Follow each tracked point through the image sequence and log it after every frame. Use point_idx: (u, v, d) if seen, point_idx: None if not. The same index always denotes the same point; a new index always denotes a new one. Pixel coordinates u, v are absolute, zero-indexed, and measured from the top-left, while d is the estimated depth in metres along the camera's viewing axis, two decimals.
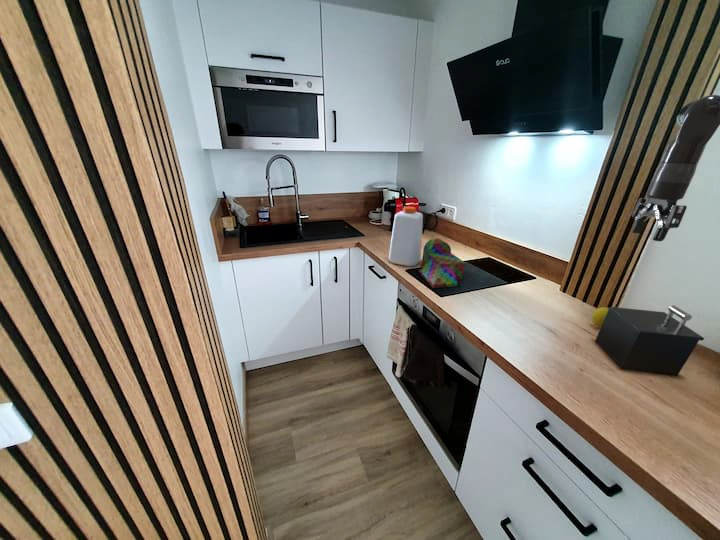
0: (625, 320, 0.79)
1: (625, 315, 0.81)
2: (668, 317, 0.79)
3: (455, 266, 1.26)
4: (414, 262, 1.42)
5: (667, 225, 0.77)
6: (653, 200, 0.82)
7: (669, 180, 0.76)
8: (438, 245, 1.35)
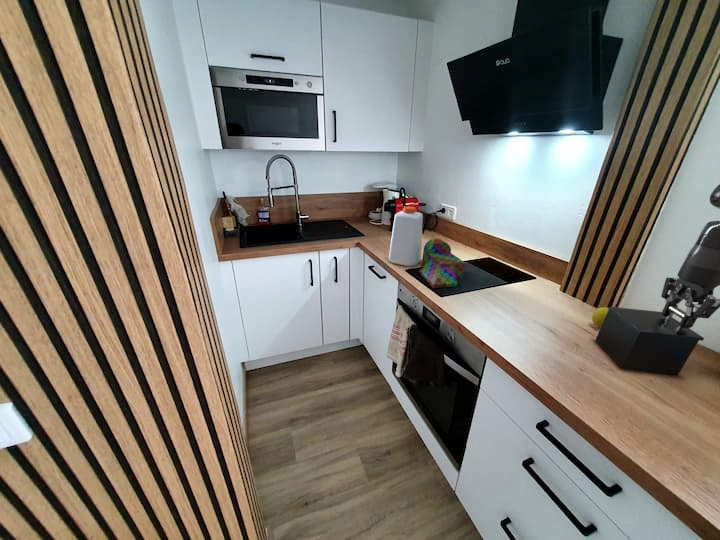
0: (625, 320, 0.79)
1: (625, 315, 0.81)
2: (668, 317, 0.79)
3: (455, 266, 1.26)
4: (414, 262, 1.42)
5: (696, 315, 0.71)
6: (685, 281, 0.74)
7: (706, 266, 0.68)
8: (438, 246, 1.35)
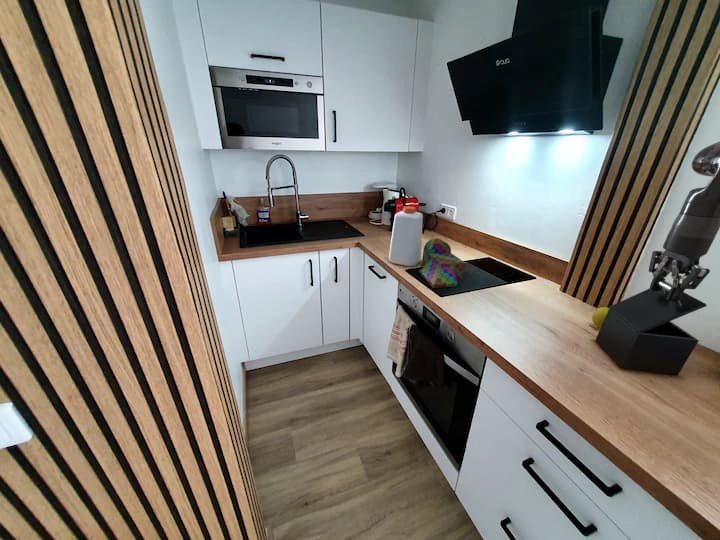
0: (625, 320, 0.79)
1: (623, 313, 0.80)
2: (665, 291, 0.77)
3: (455, 266, 1.26)
4: (414, 262, 1.42)
5: (683, 286, 0.69)
6: (671, 253, 0.72)
7: (690, 235, 0.66)
8: (438, 245, 1.35)
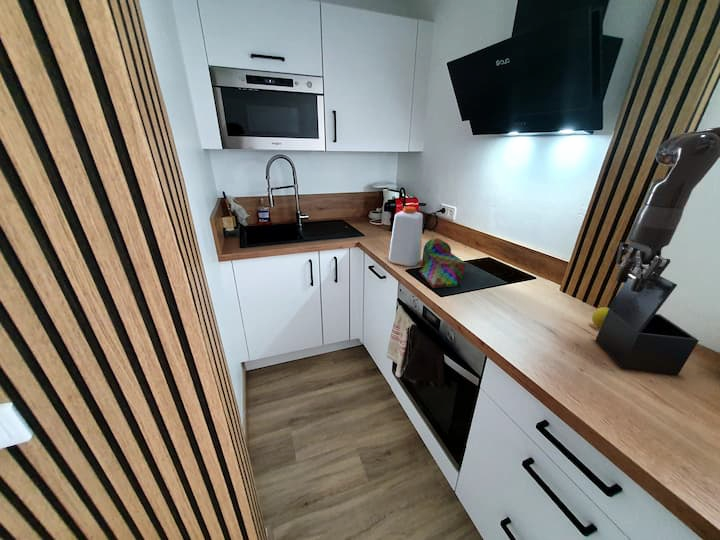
0: (625, 320, 0.79)
1: (620, 312, 0.80)
2: None
3: (455, 266, 1.26)
4: (414, 262, 1.42)
5: (645, 277, 0.69)
6: (636, 244, 0.73)
7: (652, 225, 0.67)
8: (438, 245, 1.35)
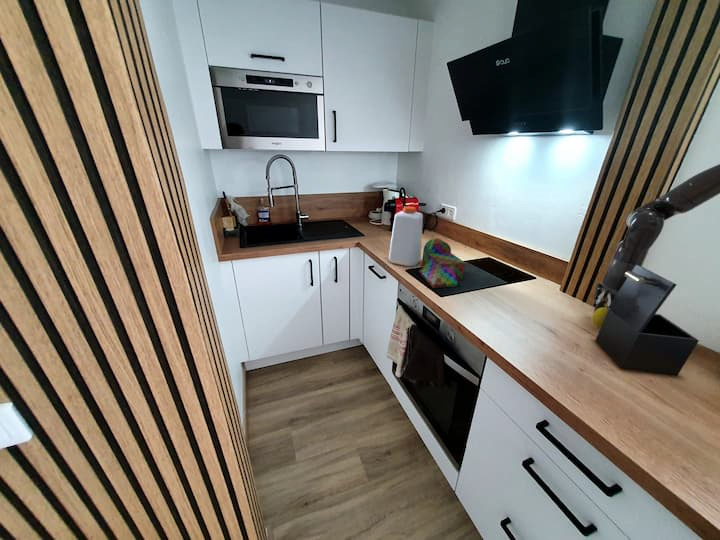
0: (625, 320, 0.79)
1: (620, 312, 0.80)
2: None
3: (455, 266, 1.26)
4: (414, 262, 1.42)
5: None
6: (608, 287, 0.93)
7: (619, 276, 0.87)
8: (438, 246, 1.35)
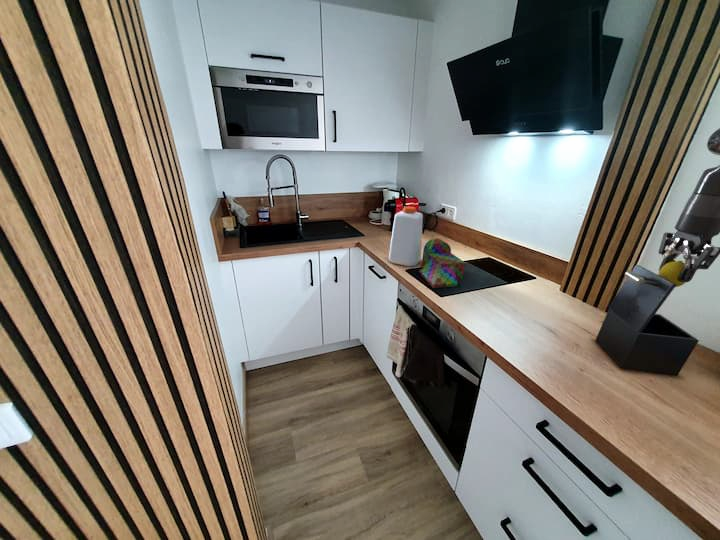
0: (625, 320, 0.79)
1: (620, 312, 0.80)
2: None
3: (455, 266, 1.26)
4: (414, 262, 1.42)
5: (695, 266, 0.69)
6: (683, 234, 0.73)
7: (703, 214, 0.67)
8: (438, 245, 1.35)
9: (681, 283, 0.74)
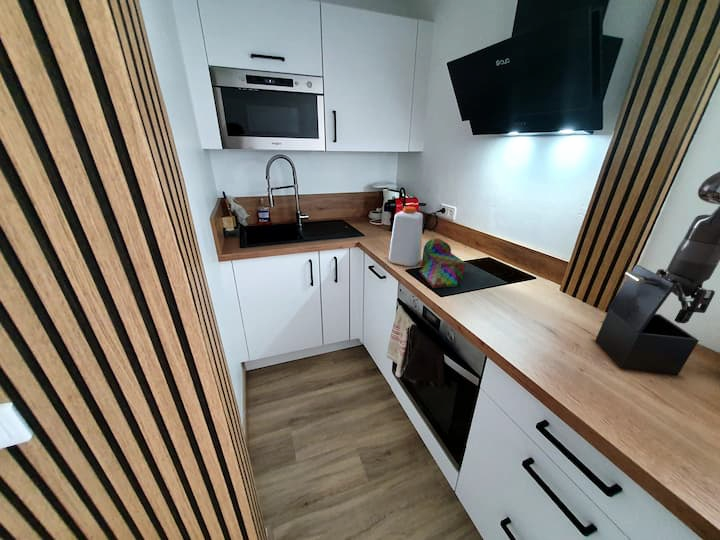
0: (625, 320, 0.79)
1: (620, 312, 0.80)
2: None
3: (455, 266, 1.26)
4: (414, 262, 1.42)
5: (692, 310, 0.69)
6: (675, 276, 0.74)
7: (694, 260, 0.68)
8: (438, 245, 1.35)
9: None
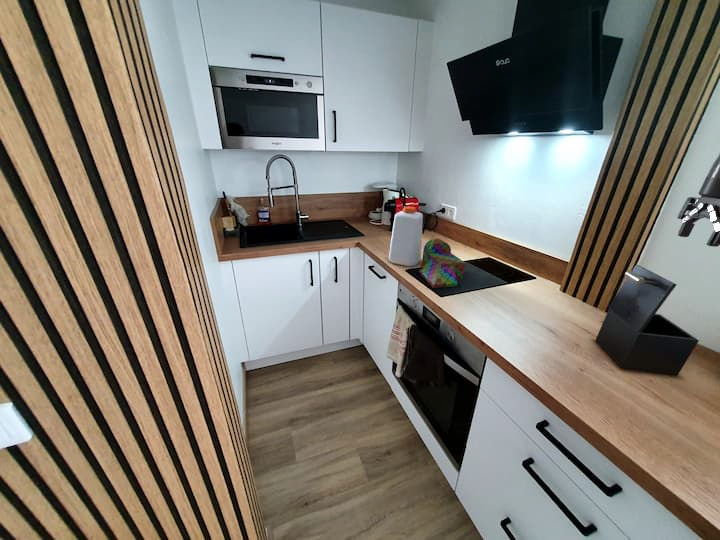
0: (625, 320, 0.79)
1: (620, 312, 0.80)
2: None
3: (455, 266, 1.26)
4: (414, 262, 1.42)
5: None
6: (706, 200, 0.73)
7: None
8: (438, 246, 1.35)
9: None
